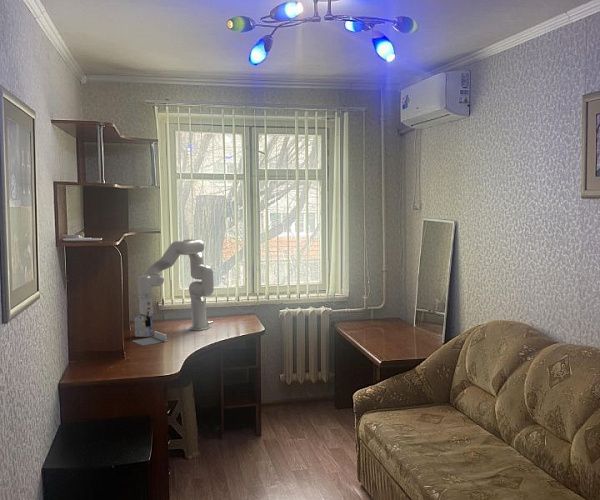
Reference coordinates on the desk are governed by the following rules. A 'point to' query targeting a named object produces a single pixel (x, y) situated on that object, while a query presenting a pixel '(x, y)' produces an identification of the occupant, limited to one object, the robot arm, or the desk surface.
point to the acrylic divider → (160, 336)
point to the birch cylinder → (144, 322)
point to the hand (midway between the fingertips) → (146, 325)
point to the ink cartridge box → (142, 331)
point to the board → (147, 341)
